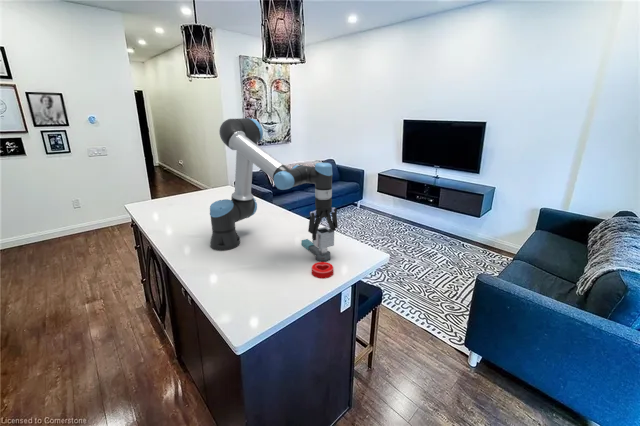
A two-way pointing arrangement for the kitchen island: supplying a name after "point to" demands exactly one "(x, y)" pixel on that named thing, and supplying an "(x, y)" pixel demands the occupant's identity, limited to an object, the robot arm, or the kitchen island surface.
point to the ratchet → (316, 251)
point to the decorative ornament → (322, 270)
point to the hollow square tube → (325, 237)
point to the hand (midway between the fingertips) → (323, 243)
